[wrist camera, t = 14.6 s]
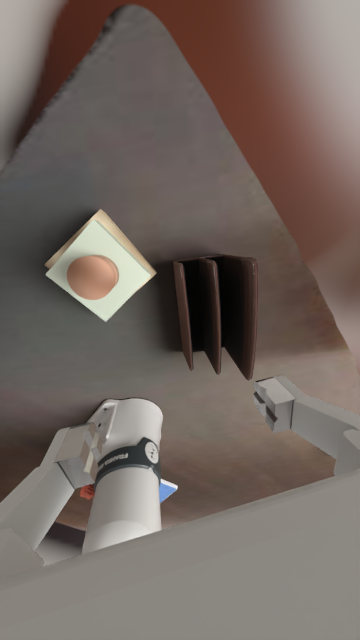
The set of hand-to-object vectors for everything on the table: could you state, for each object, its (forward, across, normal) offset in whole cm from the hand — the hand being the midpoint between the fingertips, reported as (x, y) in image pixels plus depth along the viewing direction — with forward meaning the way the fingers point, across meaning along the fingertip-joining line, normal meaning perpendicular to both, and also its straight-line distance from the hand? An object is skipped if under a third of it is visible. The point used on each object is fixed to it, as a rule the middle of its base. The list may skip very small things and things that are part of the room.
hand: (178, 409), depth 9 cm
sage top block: (+25, +7, -5) cm, 27 cm away
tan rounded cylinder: (+21, +7, -6) cm, 23 cm away
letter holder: (+29, -8, +5) cm, 31 cm away
